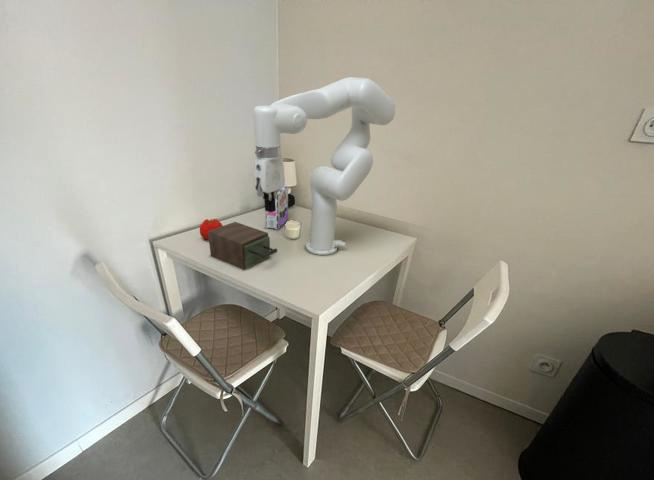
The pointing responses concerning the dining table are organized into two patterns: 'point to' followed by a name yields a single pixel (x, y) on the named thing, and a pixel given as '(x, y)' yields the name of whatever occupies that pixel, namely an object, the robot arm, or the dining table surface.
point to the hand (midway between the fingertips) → (270, 210)
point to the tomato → (209, 227)
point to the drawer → (257, 251)
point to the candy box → (278, 210)
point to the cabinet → (232, 242)
